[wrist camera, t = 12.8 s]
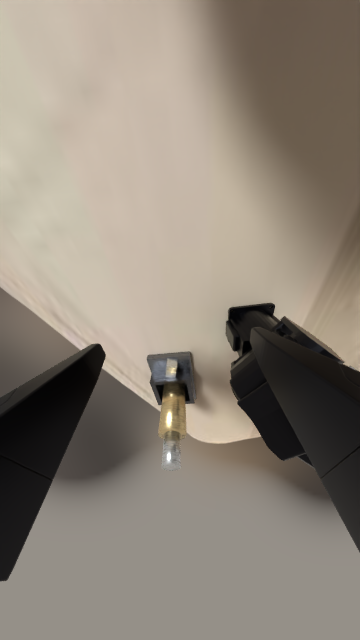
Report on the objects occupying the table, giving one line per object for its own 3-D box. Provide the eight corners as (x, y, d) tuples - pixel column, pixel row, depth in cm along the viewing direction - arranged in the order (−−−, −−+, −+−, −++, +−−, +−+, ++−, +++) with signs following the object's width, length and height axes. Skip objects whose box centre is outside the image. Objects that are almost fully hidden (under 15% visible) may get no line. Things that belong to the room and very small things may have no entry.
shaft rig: (189, 351, 26) (190, 366, 23) (195, 394, 33) (197, 410, 30) (147, 355, 27) (143, 370, 24) (162, 396, 33) (160, 412, 30)
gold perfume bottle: (188, 378, 28) (192, 464, 17) (180, 390, 30) (179, 474, 19) (168, 372, 28) (160, 459, 17) (161, 385, 29) (150, 470, 19)
